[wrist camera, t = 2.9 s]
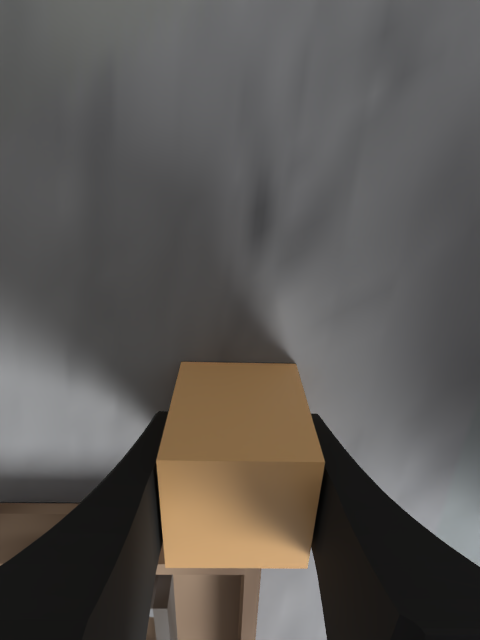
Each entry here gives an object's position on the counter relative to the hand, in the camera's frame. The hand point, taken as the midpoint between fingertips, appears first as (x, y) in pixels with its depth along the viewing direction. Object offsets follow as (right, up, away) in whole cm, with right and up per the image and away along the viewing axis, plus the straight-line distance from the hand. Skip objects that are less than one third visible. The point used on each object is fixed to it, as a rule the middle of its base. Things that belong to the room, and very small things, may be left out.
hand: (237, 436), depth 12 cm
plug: (0, +1, +1) cm, 1 cm away
